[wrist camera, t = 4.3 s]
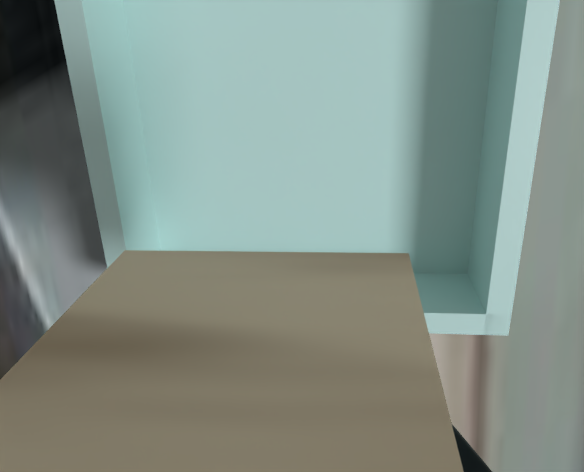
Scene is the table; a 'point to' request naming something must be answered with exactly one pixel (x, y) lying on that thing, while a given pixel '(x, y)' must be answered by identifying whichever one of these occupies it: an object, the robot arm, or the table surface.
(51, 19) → the table surface
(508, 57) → the tote
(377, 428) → the cube
